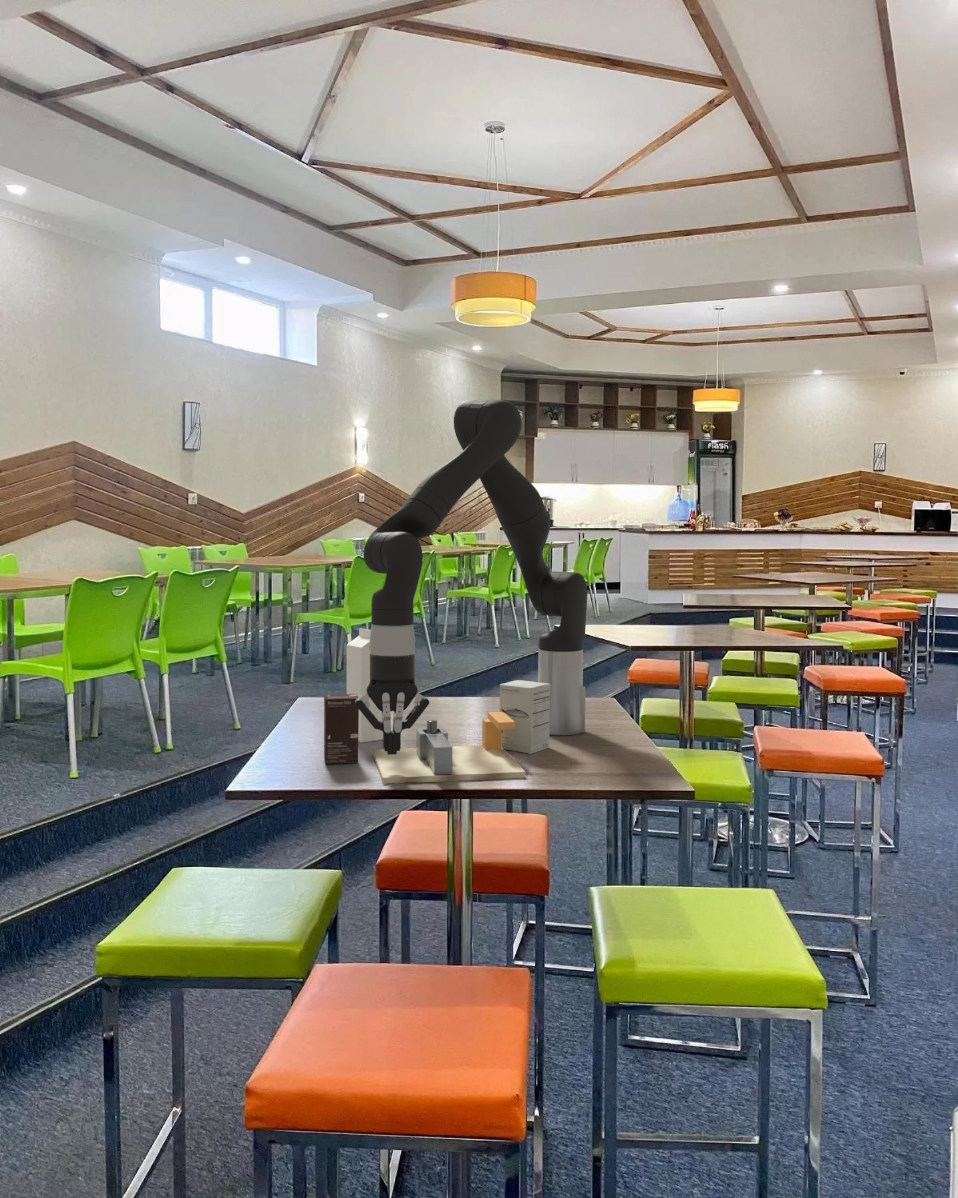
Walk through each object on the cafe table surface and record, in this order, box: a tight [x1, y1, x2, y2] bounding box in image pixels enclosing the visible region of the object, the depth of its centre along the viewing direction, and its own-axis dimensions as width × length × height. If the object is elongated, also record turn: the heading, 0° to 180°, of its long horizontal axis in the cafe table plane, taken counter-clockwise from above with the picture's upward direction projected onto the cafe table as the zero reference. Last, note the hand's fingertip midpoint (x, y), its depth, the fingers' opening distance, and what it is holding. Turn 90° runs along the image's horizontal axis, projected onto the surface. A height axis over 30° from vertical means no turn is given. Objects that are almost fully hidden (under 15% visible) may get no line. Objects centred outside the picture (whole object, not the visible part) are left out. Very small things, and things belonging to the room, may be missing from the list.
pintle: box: [426, 719, 438, 733], centre depth 171 cm, size 4×4×8 cm
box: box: [323, 693, 359, 765], centre depth 171 cm, size 6×4×12 cm
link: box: [415, 727, 453, 775], centre depth 166 cm, size 16×5×4 cm, turn 11°
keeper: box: [481, 711, 515, 750], centre depth 175 cm, size 4×10×8 cm, turn 11°
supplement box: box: [498, 679, 550, 755], centre depth 183 cm, size 7×7×13 cm
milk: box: [346, 627, 383, 744], centre depth 190 cm, size 6×6×22 cm
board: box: [372, 744, 526, 785], centre depth 169 cm, size 24×21×1 cm
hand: (391, 753), depth 161 cm, fingers closed
